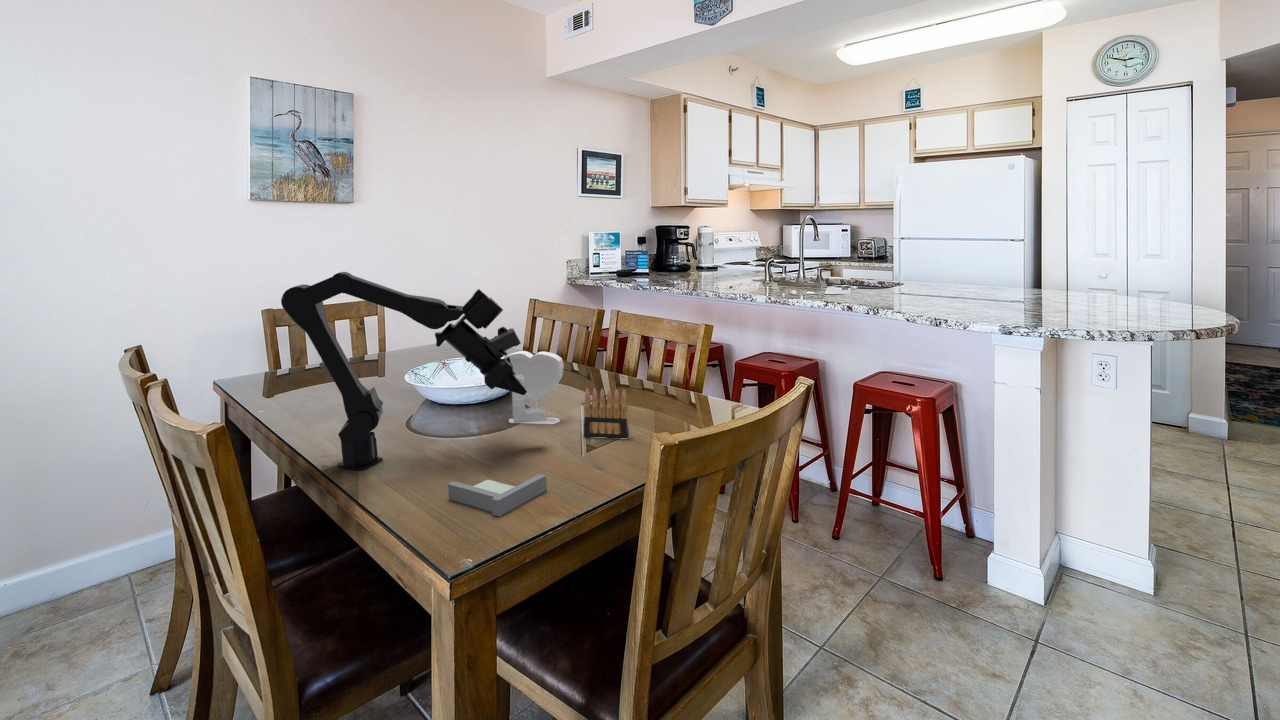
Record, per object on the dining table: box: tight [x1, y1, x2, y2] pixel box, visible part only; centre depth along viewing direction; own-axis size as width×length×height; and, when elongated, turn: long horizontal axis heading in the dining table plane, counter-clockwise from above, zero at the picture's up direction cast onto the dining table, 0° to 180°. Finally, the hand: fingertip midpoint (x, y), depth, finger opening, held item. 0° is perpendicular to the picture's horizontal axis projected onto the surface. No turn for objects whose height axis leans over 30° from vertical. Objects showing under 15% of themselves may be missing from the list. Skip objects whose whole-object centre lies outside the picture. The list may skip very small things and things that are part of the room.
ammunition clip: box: [583, 387, 630, 439], centre depth 149 cm, size 11×2×12 cm, turn 81°
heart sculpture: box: [502, 350, 565, 425], centre depth 162 cm, size 16×5×18 cm, turn 83°
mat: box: [472, 479, 515, 494], centre depth 119 cm, size 10×7×1 cm
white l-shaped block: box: [511, 374, 547, 424], centre depth 141 cm, size 7×4×10 cm, turn 105°
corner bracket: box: [447, 473, 548, 517], centre depth 117 cm, size 13×13×3 cm
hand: (524, 391), depth 140 cm, fingers closed on white l-shaped block, 4 cm apart
